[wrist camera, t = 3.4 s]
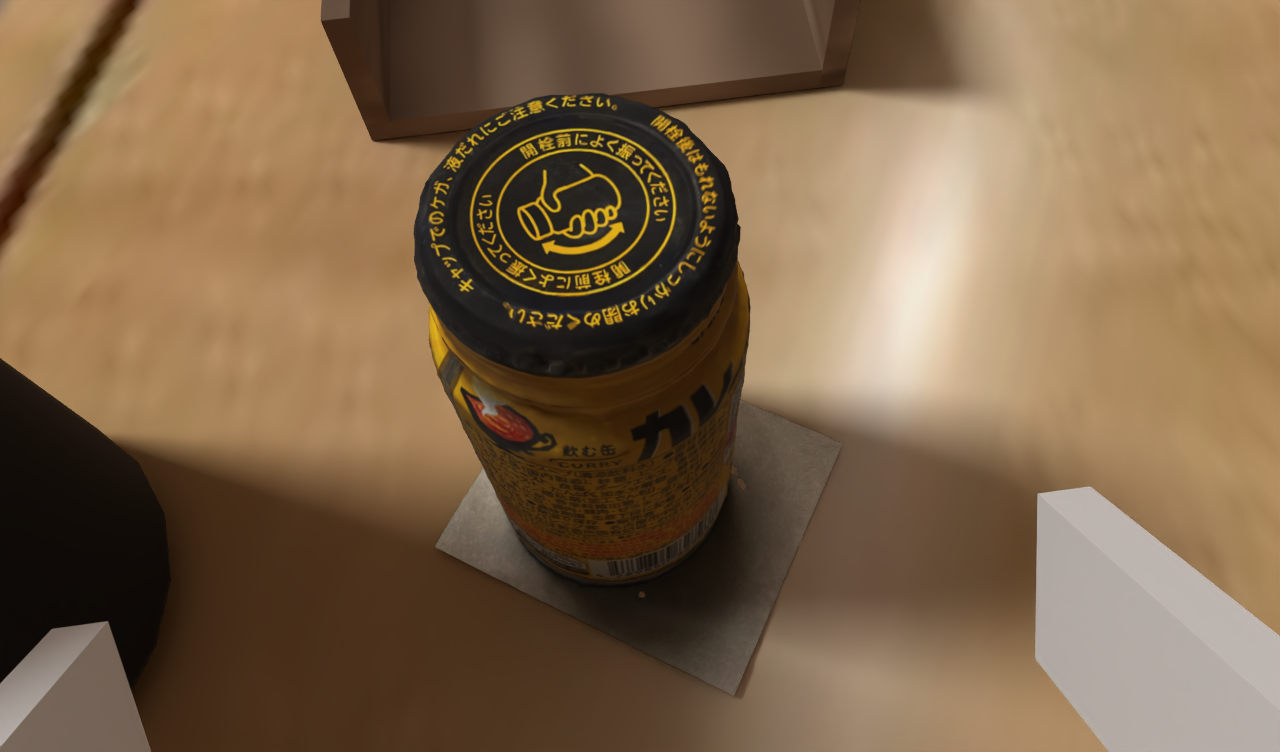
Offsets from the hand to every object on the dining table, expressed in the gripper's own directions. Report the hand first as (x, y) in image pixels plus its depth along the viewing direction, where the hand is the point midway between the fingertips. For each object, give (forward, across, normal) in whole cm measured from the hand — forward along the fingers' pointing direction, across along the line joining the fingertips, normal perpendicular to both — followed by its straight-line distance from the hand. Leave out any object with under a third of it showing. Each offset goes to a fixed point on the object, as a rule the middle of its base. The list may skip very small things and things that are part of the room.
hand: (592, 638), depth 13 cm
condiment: (+11, +1, -3) cm, 12 cm away
